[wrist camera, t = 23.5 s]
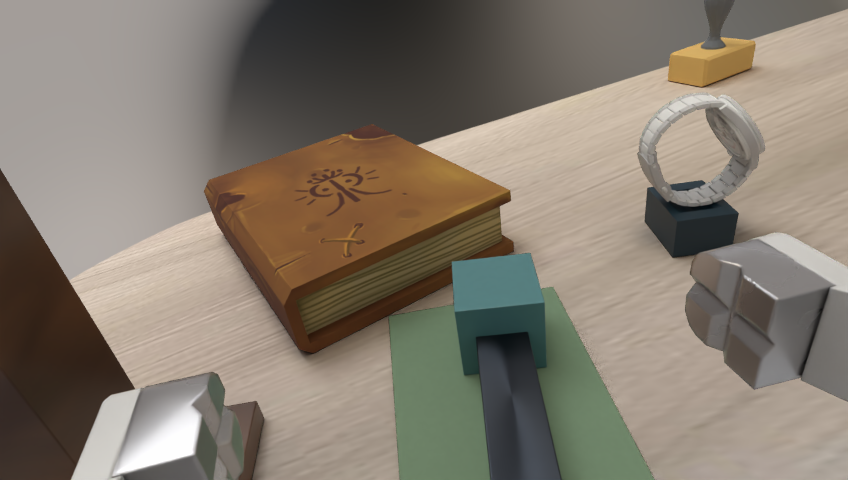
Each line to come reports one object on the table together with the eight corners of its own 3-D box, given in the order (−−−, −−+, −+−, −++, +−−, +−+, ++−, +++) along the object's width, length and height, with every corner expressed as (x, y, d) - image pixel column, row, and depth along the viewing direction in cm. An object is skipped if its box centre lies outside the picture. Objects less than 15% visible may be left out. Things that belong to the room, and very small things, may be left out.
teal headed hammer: (482, 649, 20) (469, 582, 18) (460, 321, 36) (451, 261, 34) (616, 642, 20) (623, 573, 17) (533, 313, 36) (530, 252, 33)
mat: (773, 714, 18) (776, 709, 18) (421, 780, 18) (419, 777, 17) (552, 290, 38) (552, 286, 38) (389, 320, 38) (388, 315, 38)
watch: (758, 246, 39) (790, 100, 33) (648, 260, 40) (662, 119, 34) (720, 210, 44) (743, 77, 38) (622, 223, 44) (630, 94, 39)
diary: (221, 234, 53) (200, 182, 50) (381, 172, 61) (371, 124, 58) (302, 359, 36) (278, 291, 33) (514, 251, 43) (510, 187, 40)
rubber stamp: (703, 87, 69) (716, -13, 63) (666, 80, 73) (675, -15, 67) (752, 68, 72) (770, -29, 66) (714, 62, 77) (726, -29, 71)
